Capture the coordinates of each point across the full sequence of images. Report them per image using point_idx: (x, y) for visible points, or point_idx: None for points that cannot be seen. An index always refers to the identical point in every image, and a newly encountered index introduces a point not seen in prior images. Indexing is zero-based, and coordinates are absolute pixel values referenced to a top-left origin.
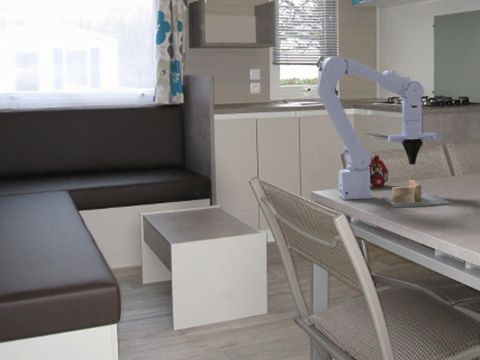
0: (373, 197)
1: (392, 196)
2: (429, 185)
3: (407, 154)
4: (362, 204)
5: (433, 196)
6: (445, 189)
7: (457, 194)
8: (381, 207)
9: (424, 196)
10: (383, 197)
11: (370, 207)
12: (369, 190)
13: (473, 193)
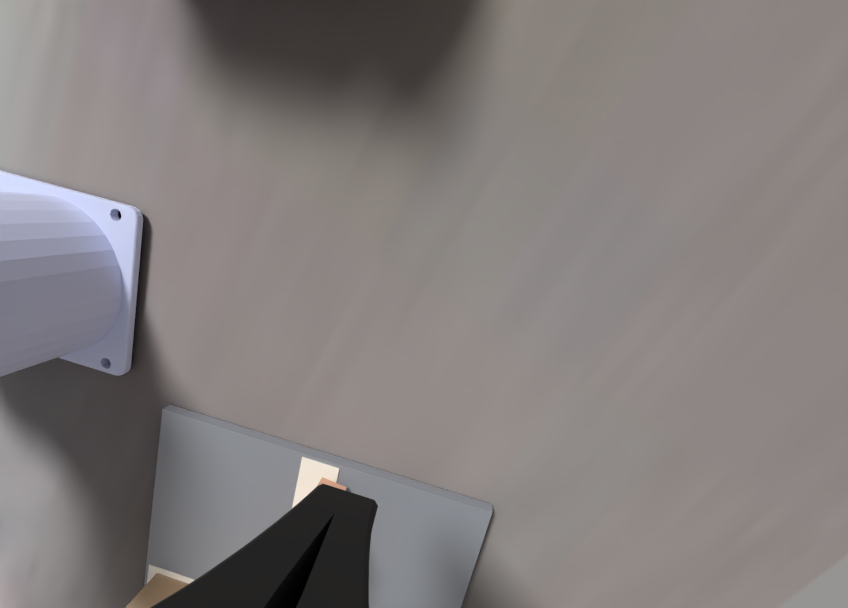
0: (124, 373)
1: (128, 604)
2: (777, 103)
3: (223, 579)
4: (30, 476)
5: (446, 568)
6: (740, 354)
7: (661, 553)
8: (93, 586)
9: (397, 538)
10: (167, 424)
11: (46, 557)
12: (75, 342)
13: (782, 587)
